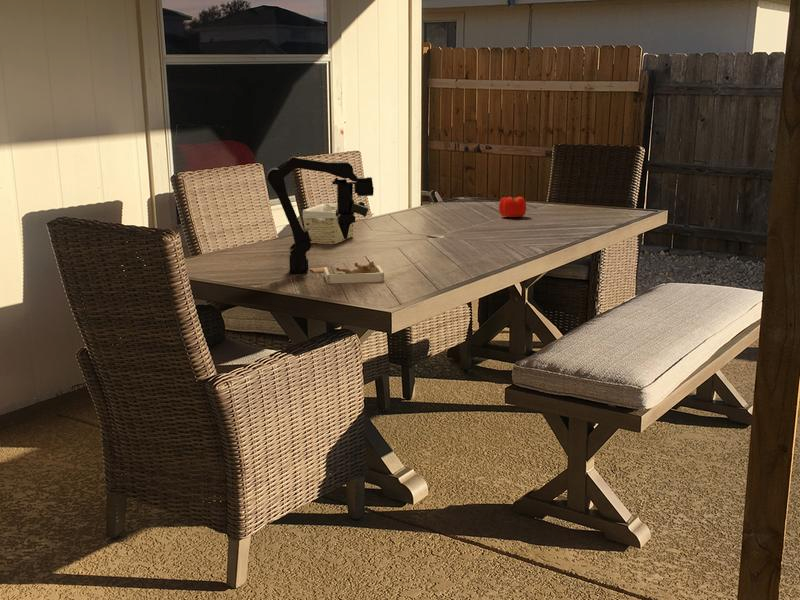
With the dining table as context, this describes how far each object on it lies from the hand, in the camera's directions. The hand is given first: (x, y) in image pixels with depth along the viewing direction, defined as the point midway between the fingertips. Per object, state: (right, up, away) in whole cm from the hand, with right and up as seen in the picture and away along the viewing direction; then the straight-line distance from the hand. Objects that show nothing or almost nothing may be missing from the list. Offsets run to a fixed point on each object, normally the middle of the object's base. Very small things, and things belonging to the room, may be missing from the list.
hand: (345, 238), depth 356 cm
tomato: (+77, +19, +130) cm, 152 cm away
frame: (+4, -15, -12) cm, 19 cm away
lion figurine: (+2, -11, -8) cm, 13 cm away
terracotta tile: (-10, -12, +2) cm, 16 cm away
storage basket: (-11, +3, +68) cm, 69 cm away
